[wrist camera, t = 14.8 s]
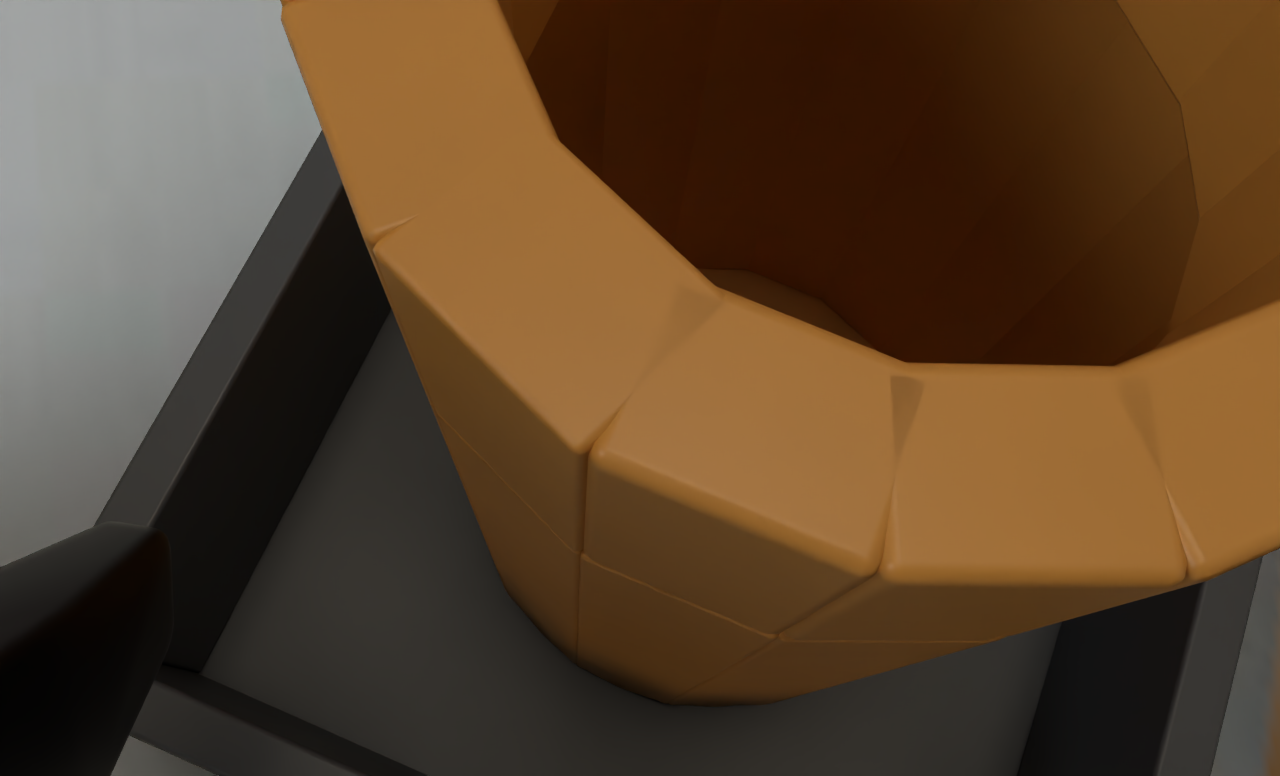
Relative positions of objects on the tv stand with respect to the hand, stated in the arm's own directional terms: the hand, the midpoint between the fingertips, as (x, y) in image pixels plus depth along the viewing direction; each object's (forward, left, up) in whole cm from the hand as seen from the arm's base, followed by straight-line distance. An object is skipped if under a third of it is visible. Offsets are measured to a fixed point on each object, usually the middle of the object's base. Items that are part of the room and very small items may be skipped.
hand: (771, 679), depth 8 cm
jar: (+3, +1, -8) cm, 9 cm away
